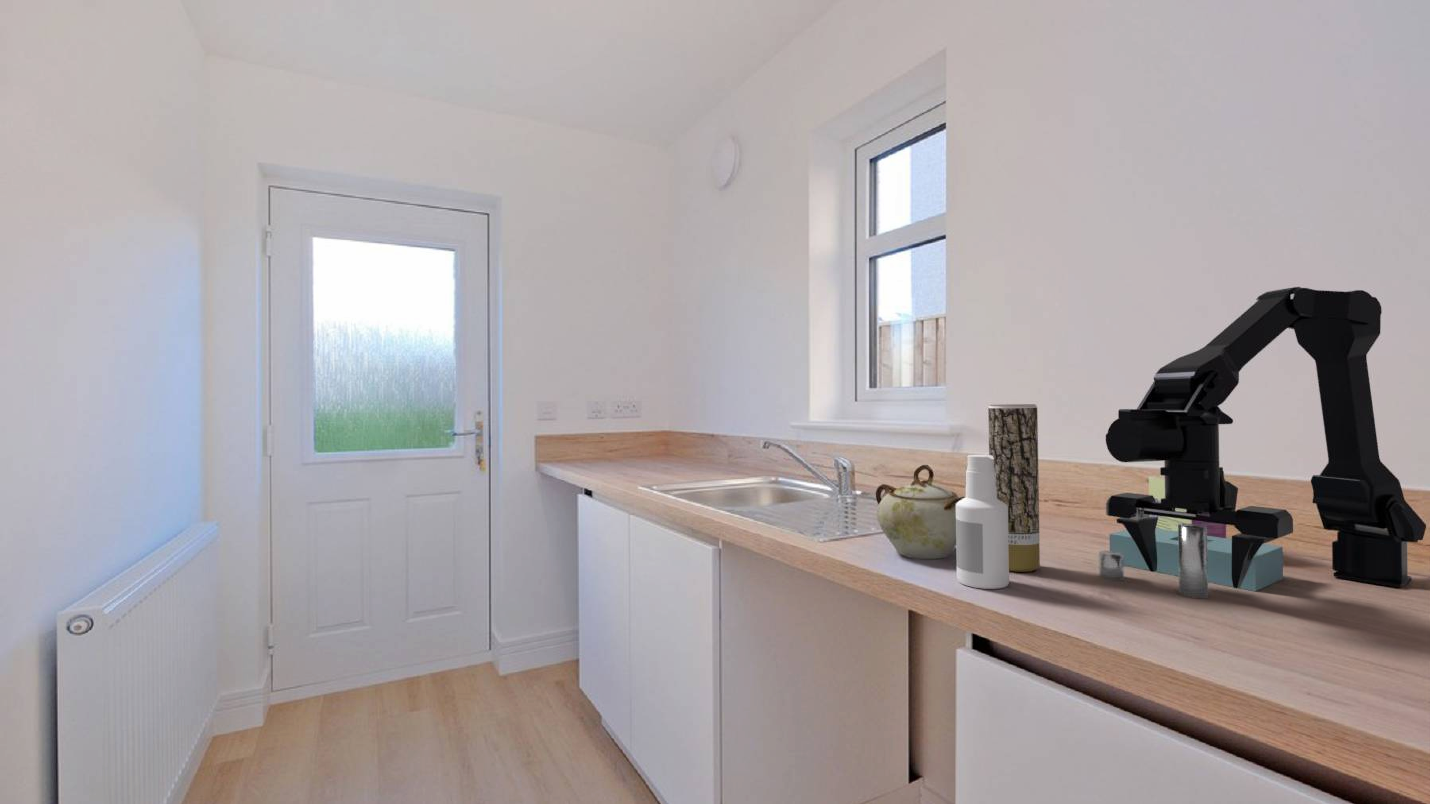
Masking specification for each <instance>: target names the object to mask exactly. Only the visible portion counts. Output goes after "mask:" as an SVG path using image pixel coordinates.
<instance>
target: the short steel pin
mask: <svg viewBox="0 0 1430 804" xmlns="http://www.w3.org/2000/svg"><path fill="white" fill-rule="evenodd" d="M1124 566H1125V565H1124V555H1123V553H1120V552H1115V551H1110V550H1099V551H1098V575H1099V577H1100V578H1101V579H1104V580H1108V581H1123V580H1124V579H1125V574H1124V573H1125V570H1124V569H1125V567H1124Z"/></svg>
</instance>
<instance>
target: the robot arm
mask: <svg viewBox="0 0 1430 804" xmlns="http://www.w3.org/2000/svg"><path fill="white" fill-rule="evenodd" d="M1382 310H1383V309H1382V306H1381V302H1380V301H1379V300H1378V298H1377V297H1376V296H1372V294H1371V293H1369V292H1368V291H1365V290H1361V289H1356V290H1349V291H1341V290H1340V291H1339V290H1322V289H1320V290H1318V289H1317V290H1316V289H1312V288H1308V287H1300V286H1294V287H1287V288H1281V289H1275V290H1270V291H1269V290H1268V291H1266V292H1264V293H1262V294H1260V295H1258V296H1257V298H1256V300H1255V302H1254V303H1253V304H1252V305H1251V306H1250V307H1249V308H1248V309H1247V310H1245V312H1243V313H1242V314H1241V315H1239V317H1237V318H1236V319H1235V320H1234V321H1233V322H1231V323H1230V324H1228V326H1226V327H1225V328H1224V329H1223V330H1222V331H1221V332H1220V333H1219V334H1218V335H1216V336H1215V337H1214V338H1213V339H1212V340H1210V341H1209V343H1207V344H1206V345H1205V346H1204V347H1202V348H1199V349H1198V350H1196V351H1193V352H1190V353H1189V354H1185V355H1183V356H1180V357H1178V358H1176V359H1174V360H1171V361H1170V362H1169V363H1167V364H1165V365H1164V366H1162V367H1160V368H1159V369H1158V370H1157V371H1156V373H1155V374H1154V376H1153V382H1152V384H1151V386H1150V387H1149V389H1148V390H1147V391H1146V393H1145V395H1144V397H1143V398H1142V400H1141V401H1140V403H1139V405H1138V406H1137V408H1135V409H1134V408H1130V409H1129V408H1122V409H1121V408H1120V409H1119V410H1118V413H1117V415H1118V418H1116V419H1115V420H1114V421H1113V422H1112V423H1111V424H1110V425H1109V428H1108V429H1107V432H1106V434H1105V444H1106V448H1107V450H1108V452H1109V454H1110V455H1111V456H1112V458H1114V459H1115V460H1117V461H1118V462H1121V463H1141V462H1164V466H1163V467H1162V466H1161V467H1159V469H1160V473H1159V474H1160V475H1159V476H1165V498H1162V499H1161V502H1156V501H1155V499H1154V497H1153V495H1149V494H1142V493H1134V492H1133V493H1131V492H1124V493H1118V494H1113V495H1110V497H1109V498H1108V499H1107V500H1106V503H1105V504H1106V505H1105V506H1106V507H1105V508H1106V509H1105V514H1106V516H1108V517H1115V518H1116V523H1117V524H1121V525H1123V526H1124V528H1125V530H1127V531H1128V532H1129V534H1130V535H1131V537H1132V538H1133V540H1134V542H1135V543H1136V545H1137V547H1138V549H1139V551H1140V553H1141V555H1142V556H1143V558H1144V560H1145V562H1146V564H1147V566H1148V568H1149V570H1148V571H1149V572H1151V573H1155V571H1157V548H1156V535H1155V529H1156V525H1157V521H1158V517H1151V516H1150V515H1156V516H1164V517H1172V518H1180V519H1187V520H1195V521H1203V522H1211V523H1218V524H1226V526H1234V528H1235V529H1236V530H1237V531H1238V532H1239V533H1237V534H1234V535H1231V539H1232V583H1233V589H1241V588H1240V587H1241V585H1242V582H1243V580H1244V578H1245V575H1246V573H1247V571H1248V569H1249V566H1250V564H1251V562H1252V560H1253V558H1254V556H1255V554H1256V553H1257V551H1258V550H1259V548H1260V547H1261V546H1262V544H1267V543H1269V542H1273V541H1274V540H1278V539H1280V538H1282V537H1285V536H1288V535H1290V534H1294V518H1293V516H1292V514H1291V513H1290V512H1289V511H1288V510H1287V509H1285V508H1284V509H1282V508H1273V507H1265V506H1258V505H1257V506H1255V505H1249V506H1246V507H1243V508H1238V509H1236V507H1237V499H1238V493H1239V488H1238V486H1236V485H1234V484H1233V483H1231V482H1230V481H1228V480H1226V479H1225V471H1224V468H1223V467H1222V466H1220V433H1219V432H1220V429H1219V428H1220V425H1233V423H1234V419H1233V418H1232V417H1231V416H1230V415H1228V414H1227V413H1225V412H1224V411H1222V410H1221V408H1220V407H1219V406H1220V405H1222V404H1223V403H1224V402H1225V401H1226V400H1227V399H1228V397H1230V395H1231V393H1233V391H1234V390H1235V389H1236V387H1237V386H1238V384H1239V383H1240V372H1241V370H1242V369H1244V367H1245V366H1246V365H1247V364H1248V363H1249V362H1250V361H1251V360H1252V359H1254V358H1255V357H1256V356H1257V355H1258V354H1259V353H1261V352H1262V351H1263V350H1264V349H1266V347H1268V346H1269V345H1270V344H1271V343H1272V342H1273V341H1275V339H1277V338H1278V337H1279V336H1280V335H1281V334H1282V333H1283V332H1284V331H1285V330H1287V329H1291V330H1293V331H1294V335H1295V338H1296V341H1297V344H1298V345H1299V346H1300V347H1301V348H1302V349H1303V350H1304V351H1306V353H1307V354H1308V355H1309V356H1310V357H1311V358H1312V359H1313V360H1314V362H1315V369H1316V376H1317V381H1318V392H1319V399H1320V408H1321V415H1322V421H1323V427H1324V428H1323V429H1324V436H1325V443H1326V451H1327V459H1328V460H1327V464H1326V465H1325V467H1324V468H1323V469H1322V471H1321V472H1320V473H1319V474H1316V475H1315V474H1314V475H1312V476H1311V479H1310V483H1311V488H1312V490H1313V492H1312V504H1315V506H1316V509H1317V511H1318V515H1319V517H1320V520H1321V523H1322V527H1323V530H1328V531H1336V535H1337V537H1336V538H1337V539H1335V540H1334V541H1332V542H1331V552H1332V553H1331V554H1332V555H1331V556H1332V558H1331V559H1332V560H1331V561H1332V563H1331V564H1332V566H1331V567H1332V570H1333V577H1335V578H1340V579H1346V580H1353V581H1358V582H1362V583H1363V582H1364V583H1370V584H1376V585H1382V586H1388V587H1395V588H1402V587H1403V586H1405V585H1406V584H1408V583H1409V582H1411V581H1412V578H1413V577H1412V576H1411V575H1408V543H1418V541H1423V539H1424V536H1425V533H1426V529H1427V524H1426V522H1424V520H1423V519H1422V518H1421V517H1420V516H1419V515H1418V514H1417V513H1416V511H1415V510H1414V509H1413V508H1412V506H1411V505H1410V504H1409V503H1408V502H1407V501H1406V499H1405V497H1404V493H1403V489H1402V486H1401V482H1400V480H1399V478H1397V476H1396V475H1395V474H1394V473H1393V472H1392V471H1391V470H1390V469H1389V468H1388V467H1387V466H1386V465H1385V464H1384V463H1383V462H1382V461H1381V458H1380V453H1379V452H1380V451H1379V446H1378V445H1379V444H1378V438H1377V428H1376V422H1375V414H1374V406H1373V399H1372V392H1371V383H1370V375H1369V367H1368V360H1367V356H1368V353H1369V351H1370V350H1371V349H1372V347H1373V346H1374V344H1375V343H1376V342H1377V339H1378V338H1379V336H1380V335H1381V321H1382V320H1381V318H1382V313H1383V312H1382ZM1175 508H1179V509H1186V512H1180V511H1175ZM1198 514H1204V515H1198ZM1205 515H1210V516H1205Z"/></svg>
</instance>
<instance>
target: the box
mask: <svg viewBox="0 0 1430 804" xmlns="http://www.w3.org/2000/svg"><path fill="white" fill-rule="evenodd" d="M1148 495H1153V497H1154V499H1155V501H1156V502H1161V499H1162V498H1165V475H1149V476H1148ZM1175 511H1180V512H1186V509H1179V508H1175ZM1198 515H1204V514H1198ZM1150 516H1151V517H1158V521H1157V525H1156V528H1158V529H1165V530H1172V531H1178V524H1197V525H1203V526H1206V527H1207V536H1213V537H1220V538H1227V525H1226V524H1218V523H1211V522H1203V521H1195V520H1187V519H1180V518H1172V517H1164V516H1156V515H1150ZM1205 516H1210V515H1205Z"/></svg>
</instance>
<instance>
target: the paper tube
mask: <svg viewBox="0 0 1430 804" xmlns="http://www.w3.org/2000/svg"><path fill="white" fill-rule="evenodd" d="M987 408H988V409H987V410H988V411H987V412H988V417H987V418H988V455H992V456H993V458H994V468H995V471H996V487H997V499H999V500H1000V501H1002V502H1003V503H1005V504H1006V505H1007V506H1008V540H1009V572H1021V573H1026V572H1027V573H1028V572H1034V571H1036V570H1038V569H1039V568H1040V566H1041V563H1040V562H1041V560H1040V557H1041V556H1040V554H1041V553H1040V551H1041V550H1040V539H1041V538H1040V494H1039V493H1040V492H1039V491H1040V489H1039V488H1040V487H1039V486H1040V485H1039V484H1040V483H1039V482H1040V481H1039V479H1040V478H1039V431H1038V429H1039V428H1038V427H1039V426H1038V425H1039V424H1038V423H1039V421H1038V406H1037V404H1036V403H1034V404H1033V403H1031V404H1028V403H1027V404H1025V403H1020V404H1019V403H1017V404H1016V403H1013V404H1012V403H1011V404H989V405H988V407H987Z"/></svg>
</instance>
